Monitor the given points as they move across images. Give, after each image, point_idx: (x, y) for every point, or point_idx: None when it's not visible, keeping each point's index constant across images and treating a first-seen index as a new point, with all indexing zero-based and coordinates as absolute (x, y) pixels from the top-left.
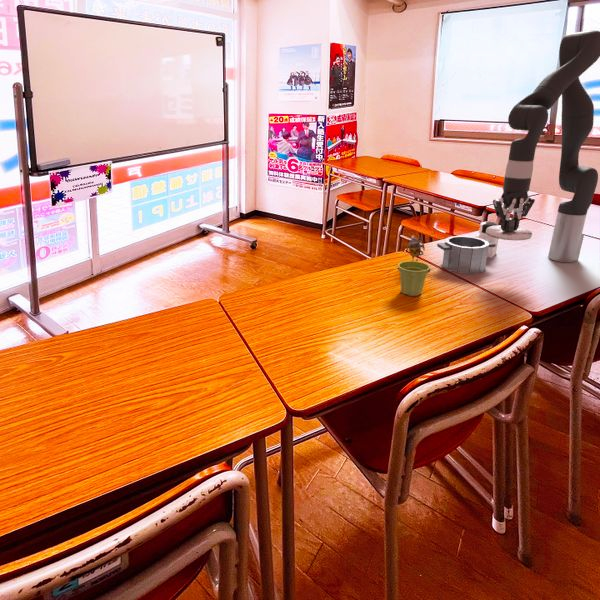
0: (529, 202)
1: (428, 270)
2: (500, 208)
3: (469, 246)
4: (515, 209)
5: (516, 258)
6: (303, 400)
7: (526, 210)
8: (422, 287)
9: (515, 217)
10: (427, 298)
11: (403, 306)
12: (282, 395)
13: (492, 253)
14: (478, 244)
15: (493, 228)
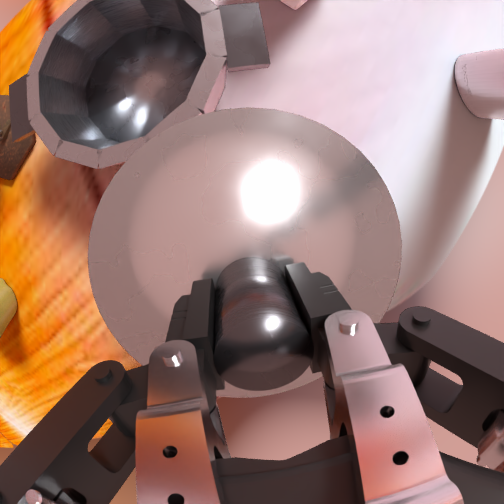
0: (483, 464)
1: (29, 149)
2: (91, 494)
3: (175, 9)
4: (336, 431)
5: (377, 35)
6: (14, 441)
7: (430, 411)
8: (10, 318)
9: (322, 355)
10: (30, 326)
11: (8, 347)
12: (2, 434)
13: (301, 3)
14: (200, 24)
15: (151, 209)
